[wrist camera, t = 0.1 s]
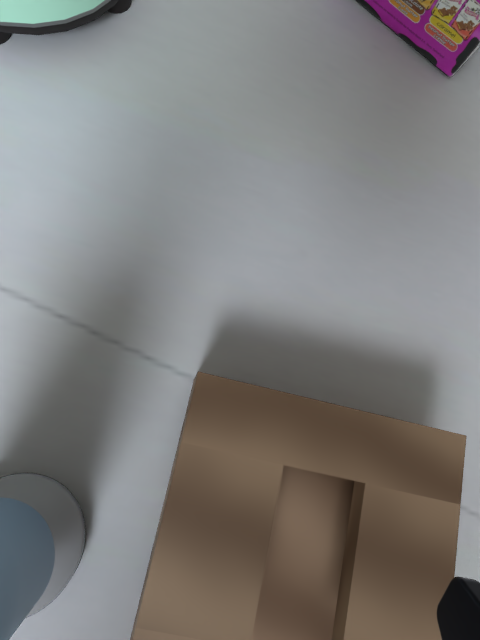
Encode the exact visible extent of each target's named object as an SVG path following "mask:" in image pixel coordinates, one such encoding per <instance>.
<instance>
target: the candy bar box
mask: <svg viewBox="0 0 480 640" xmlns="http://www.w3.org/2000/svg"><path fill="white" fill-rule="evenodd" d="M356 1H357V2H358V3H360V4H361V5H362V6H363V7H365V8H366V9H367V10H368V11H369V12H371V13H372V14H373V15H374V16H376V17H377V18H378V19H379V20H380V21H382V22H383V23H384V24H385V25H386V26H388V27H389V28H390V29H391V30H393V31H394V32H395V33H396V34H397V35H399V36H400V37H401V38H402V39H404V40H405V41H406V42H407V43H408V44H410V45H411V46H412V47H413V48H415V49H416V50H417V51H418V52H420V53H421V54H422V55H423V56H424V57H426V58H427V59H428V60H429V61H431V62H432V63H433V64H434V65H435V66H437V67H438V68H439V69H440V70H441V71H443V72H444V73H445V74H446V75H448V76H449V77H452V76H453V75H454V74H455V73H456V72H457V70H458V69H459V68H460V67H461V66H462V65H463V64H464V63H465V62H466V61H467V60H468V59H469V58H470V57H471V56H472V55H473V53H474V52H475V51H476V50H477V49H478V48H479V47H480V0H356Z"/></svg>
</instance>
